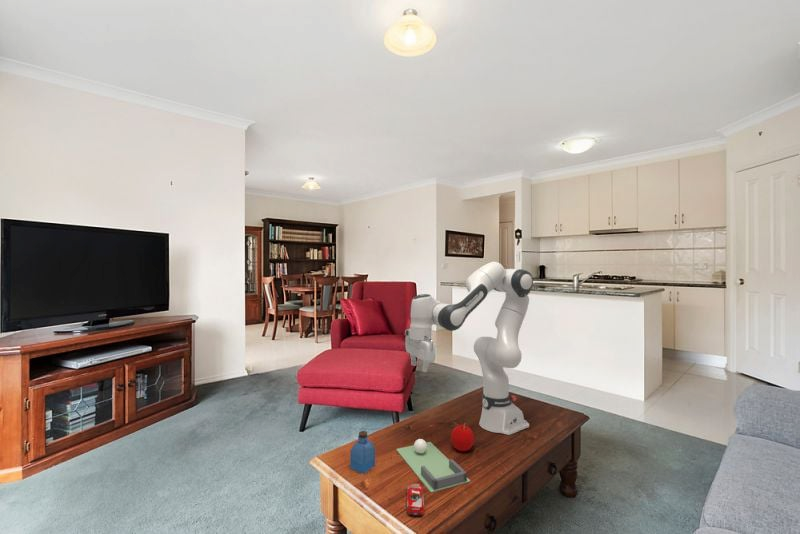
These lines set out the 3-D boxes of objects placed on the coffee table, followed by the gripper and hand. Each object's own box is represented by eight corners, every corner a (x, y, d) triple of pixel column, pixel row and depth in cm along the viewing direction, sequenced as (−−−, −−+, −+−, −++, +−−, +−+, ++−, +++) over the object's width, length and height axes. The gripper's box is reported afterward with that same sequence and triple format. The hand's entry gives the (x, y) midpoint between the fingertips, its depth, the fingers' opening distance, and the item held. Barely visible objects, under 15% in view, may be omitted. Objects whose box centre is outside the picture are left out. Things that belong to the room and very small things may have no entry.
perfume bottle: (364, 473, 120) (364, 438, 120) (350, 468, 123) (350, 434, 123) (374, 465, 125) (375, 431, 125) (361, 460, 129) (361, 427, 129)
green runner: (430, 442, 142) (430, 441, 142) (470, 481, 116) (470, 480, 116) (396, 449, 136) (396, 448, 136) (430, 492, 110) (430, 491, 110)
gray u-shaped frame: (451, 467, 125) (451, 458, 125) (466, 481, 116) (466, 472, 116) (420, 475, 120) (420, 466, 120) (434, 491, 111) (434, 481, 111)
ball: (423, 448, 137) (423, 435, 137) (429, 454, 132) (429, 441, 132) (411, 450, 135) (411, 437, 135) (417, 457, 130) (417, 443, 130)
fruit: (472, 456, 132) (473, 430, 132) (449, 452, 135) (449, 426, 135) (475, 444, 141) (475, 419, 141) (452, 441, 143) (452, 416, 143)
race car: (406, 488, 113) (406, 476, 113) (423, 489, 113) (423, 477, 113) (405, 518, 100) (405, 503, 100) (424, 518, 99) (424, 504, 99)
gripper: (440, 338, 134) (438, 375, 134) (416, 329, 153) (415, 361, 153) (425, 339, 132) (424, 376, 131) (403, 330, 150) (401, 362, 150)
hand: (419, 368), depth 142 cm, fingers open, 8 cm apart
